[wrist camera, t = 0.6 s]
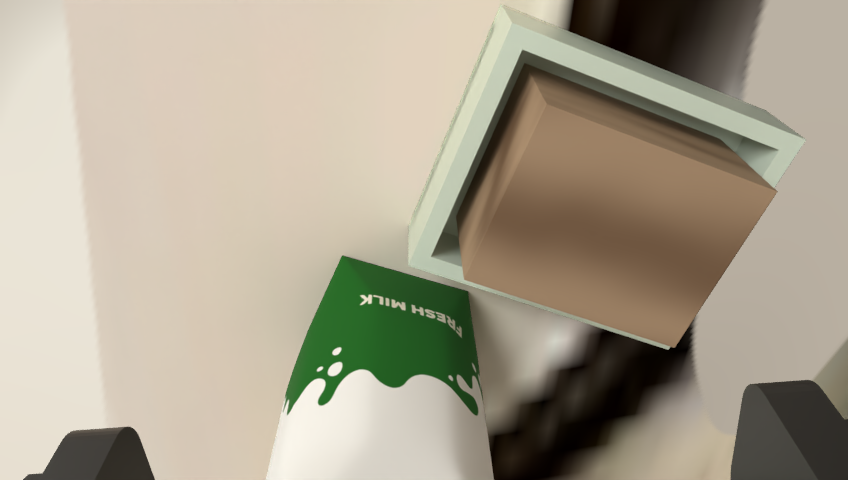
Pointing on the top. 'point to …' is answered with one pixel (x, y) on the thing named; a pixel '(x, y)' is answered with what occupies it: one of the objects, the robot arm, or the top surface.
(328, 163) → the top surface
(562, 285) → the block
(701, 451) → the top surface
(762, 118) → the box
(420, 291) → the milk carton
